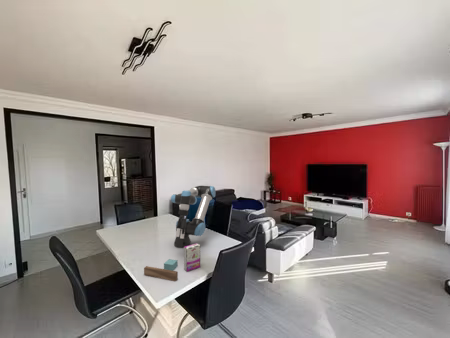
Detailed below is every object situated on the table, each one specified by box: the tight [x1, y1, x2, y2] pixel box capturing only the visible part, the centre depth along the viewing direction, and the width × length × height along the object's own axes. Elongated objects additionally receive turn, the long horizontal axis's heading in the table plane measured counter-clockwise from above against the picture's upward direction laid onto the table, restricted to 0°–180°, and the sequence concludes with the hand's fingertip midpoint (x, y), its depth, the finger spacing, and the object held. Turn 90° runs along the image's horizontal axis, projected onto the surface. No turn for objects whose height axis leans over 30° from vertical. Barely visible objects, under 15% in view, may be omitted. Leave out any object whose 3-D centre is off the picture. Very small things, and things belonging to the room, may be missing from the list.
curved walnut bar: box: [143, 265, 179, 282], centre depth 133 cm, size 2×24×5 cm, turn 74°
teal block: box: [163, 258, 178, 271], centre depth 145 cm, size 7×7×4 cm
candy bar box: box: [183, 243, 201, 273], centre depth 145 cm, size 11×5×16 cm, turn 126°
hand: (179, 237), depth 156 cm, fingers open, 13 cm apart
